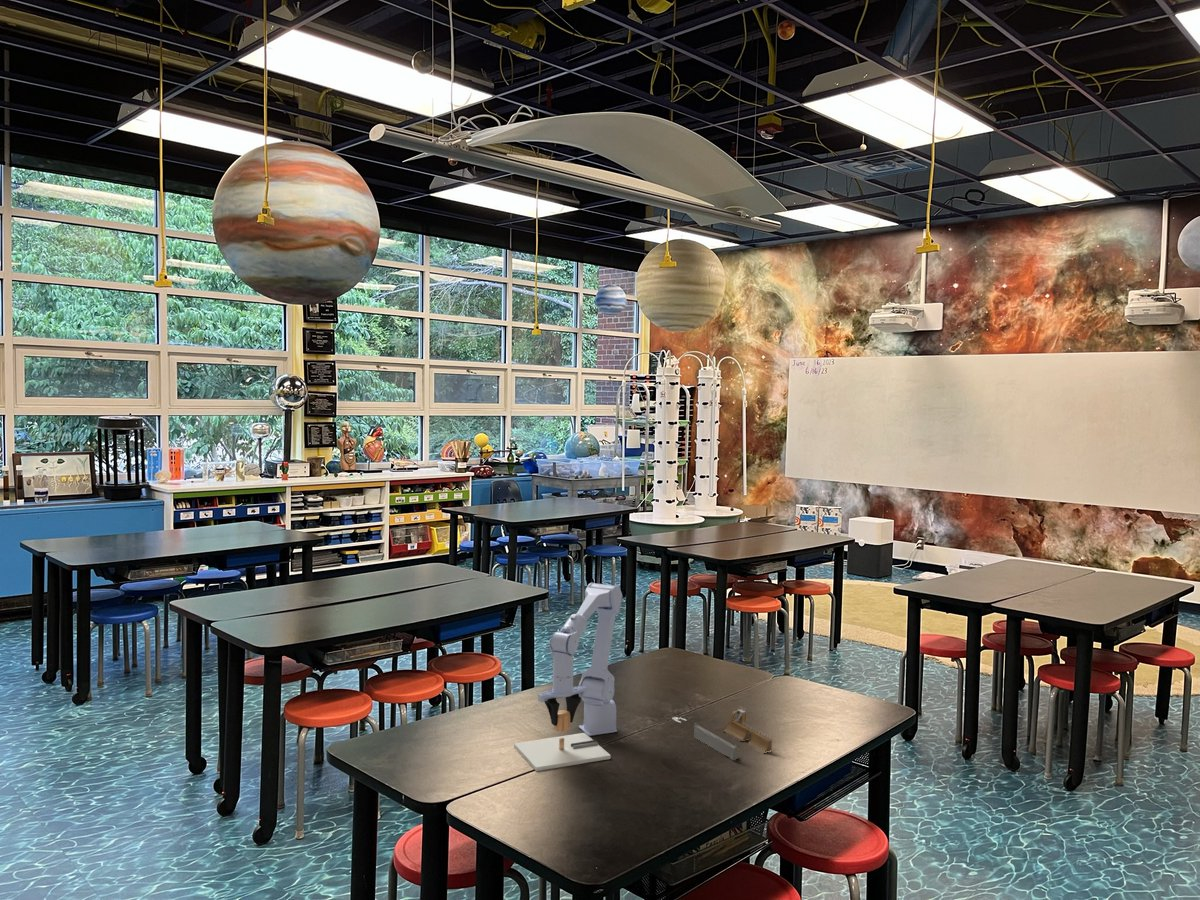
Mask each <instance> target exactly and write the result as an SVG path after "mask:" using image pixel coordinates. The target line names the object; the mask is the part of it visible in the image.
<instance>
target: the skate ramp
mask: <svg viewBox="0 0 1200 900" xmlns="http://www.w3.org/2000/svg"><path fill="white" fill-rule="evenodd" d="M736 713H737V714H736ZM735 715H736V716H735ZM746 716H747V711H746V709H742V706H739V708H738V709H734V710H732V711H731V715H730V717H729V720H728V723H727V726H726V728H725V729H724V730H723V731H725V732H727V733H729V734H732V735H734V736H735V737H737V738H739V739H741V740H746V739H749V741H747V742H748V743H749V744H751V745H753V746H755V747H757V748H760V749H761V750H763V751H765V752H766V751H770V750H773V749H772V747H773V746H772V745H773V743H772V736H770V735H768V734H767V733H765V732H763V734H762V731H761V730H759V731H756V730H754V729H752V726H751V725H749V724H747V720H746V718H747V717H746ZM750 733H751V734H750ZM750 735H751V736H750ZM695 738H696V739H695ZM693 739H695V740H697V739H698V740H697V741H699V740H700V741H701V742H700V741H699V742H700V743H702V742H703V743H702V744H704V743H705V744H707V745H708V746H707V745H706V746H707V747H709V746H710V747H712V748H714V749H715V750H717V751H719V752H721V753H722V754H724V755H726V756H728V757H730V758H731V759H736V758H741V757H740V756H739V754H738V752H737V744H732V743H730V742H729V741H727V740H725V739H724V738H721V737H720V736H718V735H716V734H715V733H713V732H711V731H709V730H708V729H706V728H705V727H702V726H700V725H699V722H694V726H693ZM748 743H747V744H748ZM705 744H704V745H705ZM710 747H709V748H710ZM712 748H711V749H712ZM714 749H713V750H714ZM715 750H714V751H715ZM717 751H716V752H717ZM719 752H718V753H719ZM722 754H721V755H722ZM724 755H723V756H724Z"/></svg>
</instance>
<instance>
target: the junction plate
mask: <svg viewBox="0 0 1200 900" xmlns="http://www.w3.org/2000/svg"><path fill="white" fill-rule="evenodd" d="M513 747H514V748H515V749H516V751H517V752H518V753H519V755H521V757H522V758H524V760H525V761H526V762H527V763H528V764H529V765H530V766H531V767H532V769H533V770H534V771H535V772H540V771H545V770H552V769H556V768H563V767H569V766H574V765H575V766H577V765H581V764H588V763H593V762H594V763H595V762H599V761H604V760H610V759H611V754H610V753H609V752H607V751H606V750H605V749H604V748H603V747H602V746H601V745H599V742H598V741H596V740H595V739H592V737H591V736H588V735H587V734H586V733H585V732H582V733H574V734H568V735H567V734H566V735H561V736H560V735H559V736H553V737H546V738H541V739H540V738H539V739H535V740H527V741H526V740H525V741H521V742H515V743H513Z"/></svg>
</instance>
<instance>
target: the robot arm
mask: <svg viewBox="0 0 1200 900" xmlns="http://www.w3.org/2000/svg"><path fill="white" fill-rule="evenodd" d="M622 598H623V592H622V591H621V588H620V586H618V585H616V584H615V585H610V584H603V583H595V582H590V583H588V585H587V587H586V589H585V592H584V600H583V601H582V604H581V606H580V607H579V609H578V611H577V612H576V613H573V614H571V615H570V616H569V617H568V619H566V622H565V623H564V624H563V626H562V627H561V628H560V630H559V631H555V632H554V633H552V635H551V636H550V639H549V643H548V646H549V650H550V654H551V655H550V657H551V659H552V689H549V690H546V691H543V692H539V693H538V695H537V700H538V702H540V703H544V704H545V706H546V707H547V711H548V713H549V717H550V722H551V724H552V725H553V727H554V726H557V723H558V710H559V708H560V703H559V702H558V699H562V698H565V703H566V711H569V712H570V714H571V716H570V724H571V723H573V721H574V718H575V714H576V711H577V708H578V707H579V705H580V703H581V702H583V704H584V705H583V724H582V725H581V724H579V725H578V728H579V729H580V730H581V731H582V732H583V733H585V734H587V735H588V736H589V737H591V736H598V735H605V734H610V733H617V732H618V730H617V705H616V703H615V701H614V698H613V697H614V696H615V676H614V675H613V674H612V673H611V672H610V671H609V669H608V665H609V659H610V653H611V646H612V642H613V641H612V639H613V636H614V635H613V633H614V627H615V620H616V615H618V614H620V609H621V606H622V605H621V604H622ZM595 612H596V613H597V615H598V620H597V625H596V632H595V636H594V637H595V638H594V642H593V645H594V646H593V651H592V658H591V662H590V663H591V664H590V667H589V668H587V669H586V670H584V671H582V674H581V678H580V681H579V683H578V686H574V659H575V658H574V654H575V653H576V652H577V649H578V648H579V647H578V646H579V643H580V640H581V639H580V638H581V637H582V636H583V633H584V632H585V631H586V629H587V628H588V622H587V621H588V620H589V619H590V618H591V616H592V615H593V614H594V613H595Z"/></svg>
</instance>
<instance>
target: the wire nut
mask: <svg viewBox="0 0 1200 900" xmlns="http://www.w3.org/2000/svg"><path fill="white" fill-rule="evenodd" d="M570 716H571V714H570V712H569V711H567V709H566V710H564V709H560V710H559V709H558V723H557V726H554V725H553V730H555V731H557V732H561V733H562V732H569V731H570V730H571V723H570Z"/></svg>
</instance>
